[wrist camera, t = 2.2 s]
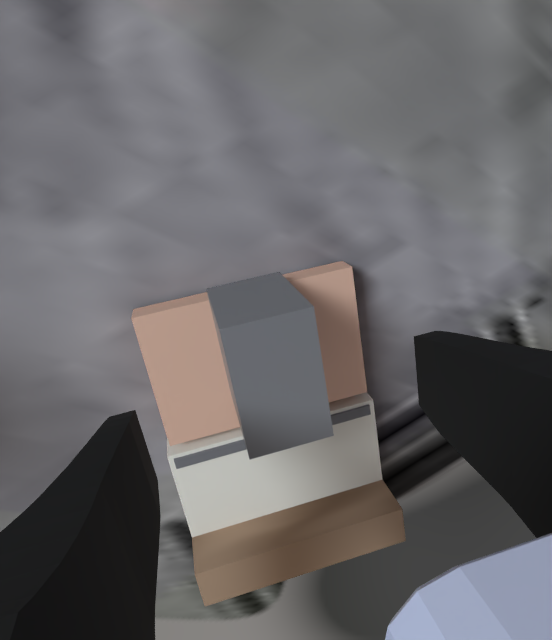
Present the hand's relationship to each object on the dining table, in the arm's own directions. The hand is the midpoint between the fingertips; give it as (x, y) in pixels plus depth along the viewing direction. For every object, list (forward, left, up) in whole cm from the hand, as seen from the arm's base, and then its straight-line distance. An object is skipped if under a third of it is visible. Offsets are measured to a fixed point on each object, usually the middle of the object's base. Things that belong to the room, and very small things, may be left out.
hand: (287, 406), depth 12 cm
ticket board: (0, +6, -6) cm, 9 cm away
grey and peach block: (0, +1, -6) cm, 6 cm away
